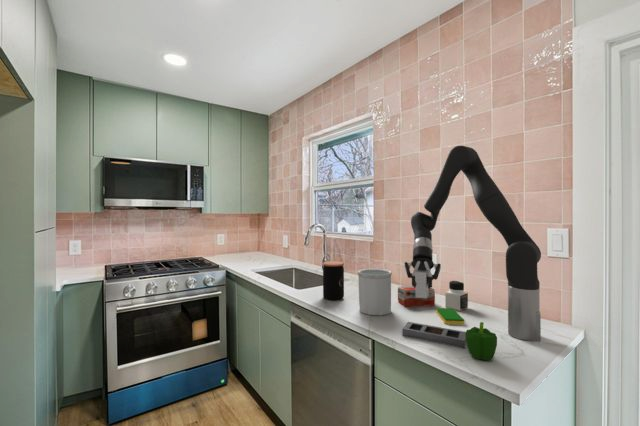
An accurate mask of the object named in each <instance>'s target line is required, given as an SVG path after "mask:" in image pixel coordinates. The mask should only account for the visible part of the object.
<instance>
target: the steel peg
mask: <svg viewBox="0 0 640 426" xmlns="http://www.w3.org/2000/svg"><path fill="white" fill-rule="evenodd" d="M415 281H416V287H415V293H416V297H418V298H425V299H427V298H428V296H429V289H428V270H424V269H417V270H415Z"/></svg>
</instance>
